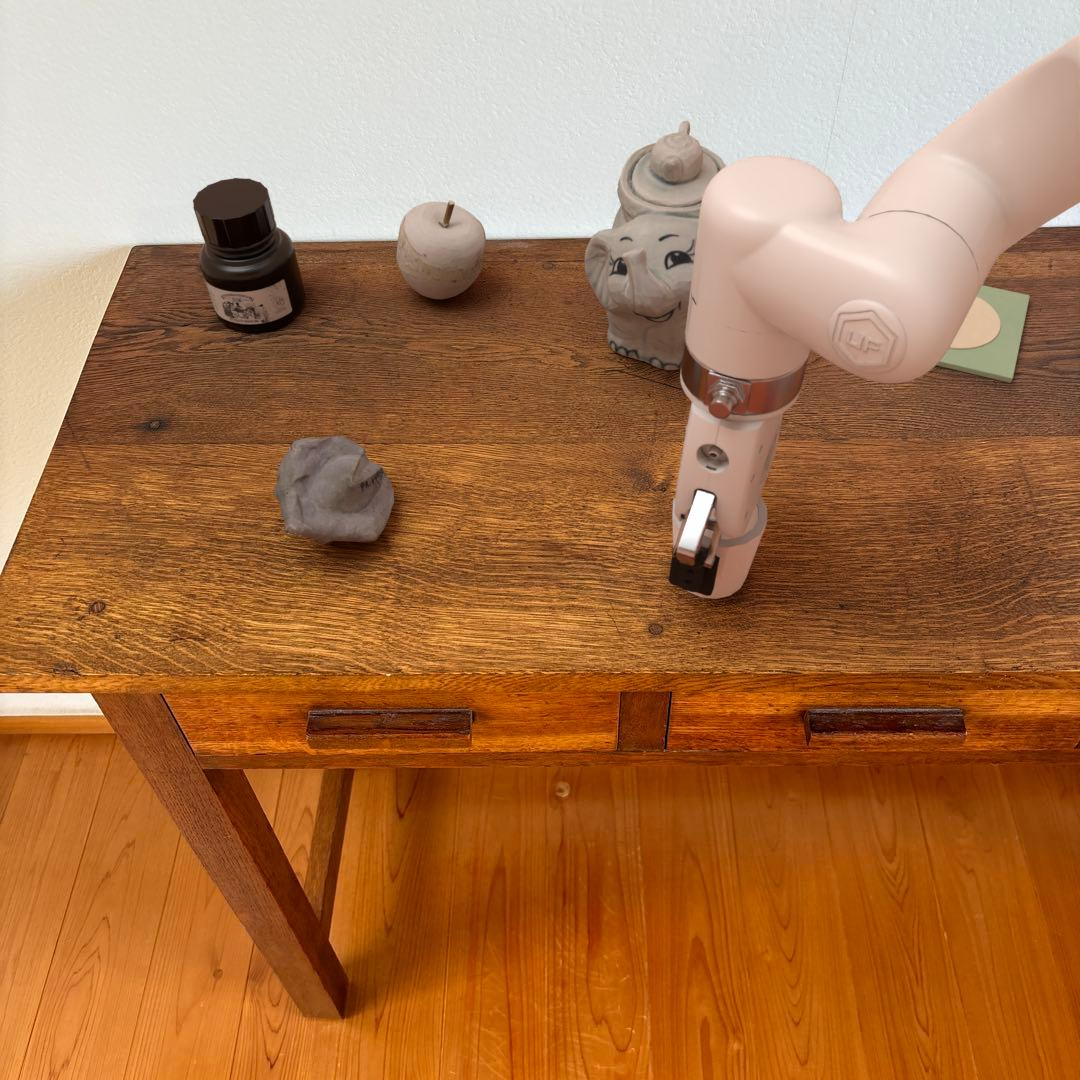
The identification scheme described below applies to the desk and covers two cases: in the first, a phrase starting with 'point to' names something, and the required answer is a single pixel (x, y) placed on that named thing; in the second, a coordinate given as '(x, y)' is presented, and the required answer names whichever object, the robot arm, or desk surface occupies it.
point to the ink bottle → (247, 257)
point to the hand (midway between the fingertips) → (711, 538)
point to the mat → (989, 335)
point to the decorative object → (440, 249)
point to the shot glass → (731, 551)
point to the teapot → (652, 248)
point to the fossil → (332, 491)
